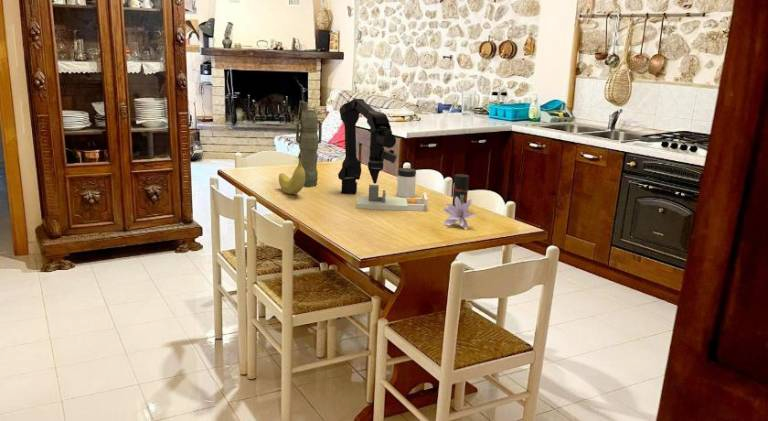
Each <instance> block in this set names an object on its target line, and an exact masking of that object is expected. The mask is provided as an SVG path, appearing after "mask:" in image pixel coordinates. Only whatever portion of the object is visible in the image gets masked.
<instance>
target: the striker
mask: <svg viewBox="0 0 768 421" xmlns="http://www.w3.org/2000/svg"><path fill="white" fill-rule="evenodd" d="M379 189H380V185H378V184H369V185H368V196H369V200H368V201H382V202H385V197H386V194H387V193H386V191H387V190H386V189H382V196H379V191H380V190H379Z"/></svg>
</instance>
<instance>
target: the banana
mask: <svg viewBox="0 0 768 421" xmlns="http://www.w3.org/2000/svg"><path fill="white" fill-rule="evenodd" d="M297 158H298V165H297V166H296V168H295V169H294V171H293V173H292V176H291V177H288V175H286V174H285V173H282V172H281V173H279V174H278V183H279V185H280V188H281V190H282V191H283V192H284V193H286V194H289V195H295V194H297V193H299V192H301V191H302V189H303V188H304V187H303V186H304V183H305V171H304V169H303V167H302V164H301V159H302V153H300V152H299V153H298V156H297Z"/></svg>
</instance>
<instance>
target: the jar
mask: <svg viewBox="0 0 768 421" xmlns="http://www.w3.org/2000/svg"><path fill="white" fill-rule="evenodd" d="M416 176H417V171H416V169H415V168H410V167H401V168H398V169H397V178H396V180H397V181H396V183H397V184H396V196H397V197H398V198H407V197H408V198H416V197H415V196H416V195H415V194H416V182H417V181H416V180H417V179H416V178H417V177H416Z"/></svg>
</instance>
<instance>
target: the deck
mask: <svg viewBox="0 0 768 421" xmlns="http://www.w3.org/2000/svg"><path fill="white" fill-rule="evenodd" d="M368 200H369V195H357V200H356V209H365V210H367V209H368V210H382V211H383V210H386V211H405V212H407V211H408V210H407V198H405V197H393V196H391V197H389V196H385V202H382V201H368Z"/></svg>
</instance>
